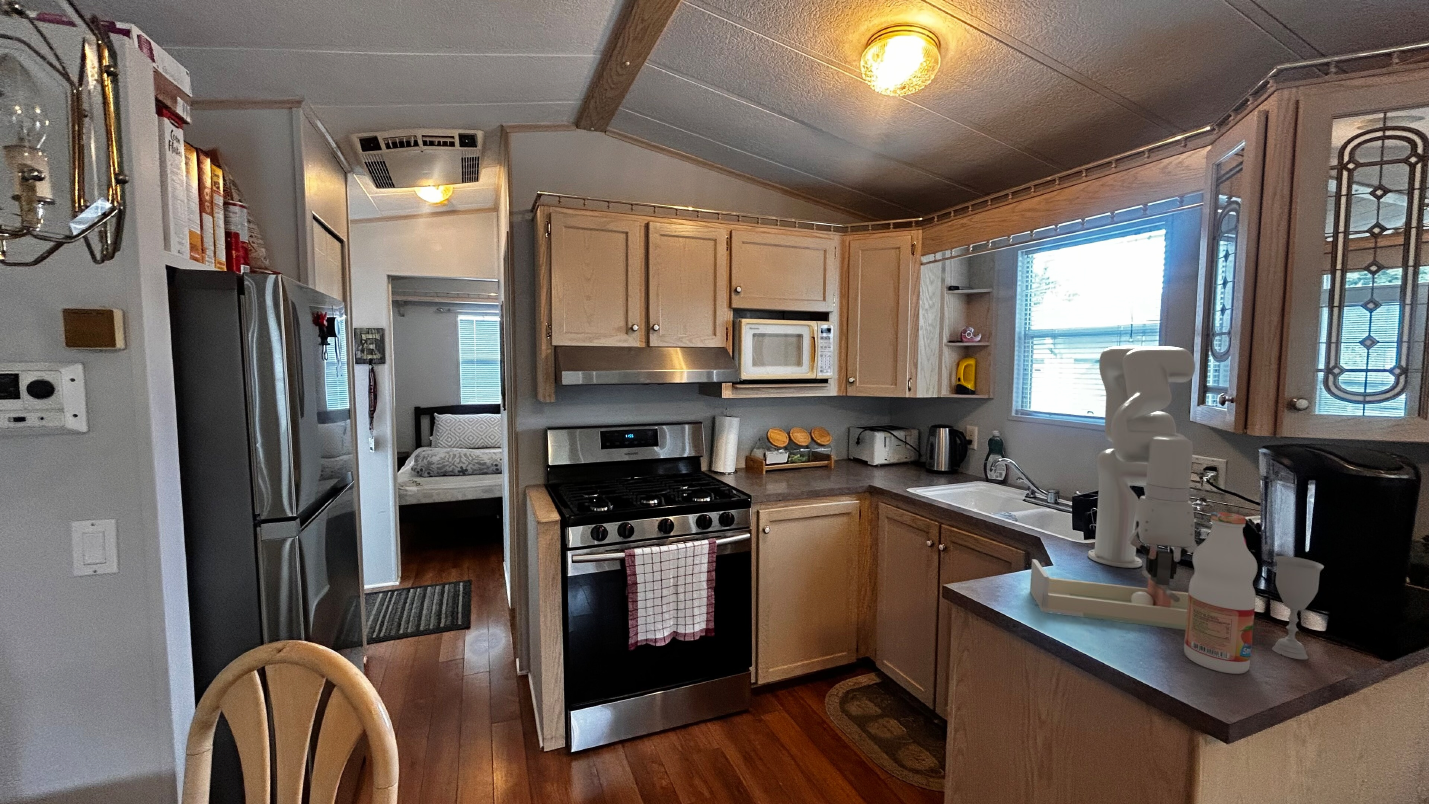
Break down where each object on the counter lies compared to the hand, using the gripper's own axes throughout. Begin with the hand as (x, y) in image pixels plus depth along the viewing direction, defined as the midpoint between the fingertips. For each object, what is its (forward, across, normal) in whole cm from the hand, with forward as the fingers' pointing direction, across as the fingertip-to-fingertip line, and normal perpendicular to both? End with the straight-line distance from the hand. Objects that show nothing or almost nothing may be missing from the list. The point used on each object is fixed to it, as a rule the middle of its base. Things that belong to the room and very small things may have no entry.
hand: (1160, 575), depth 130 cm
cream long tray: (+9, +8, 0) cm, 12 cm away
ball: (+6, +3, 0) cm, 7 cm away
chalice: (+9, -18, +11) cm, 23 cm away
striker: (+8, 0, 0) cm, 8 cm away
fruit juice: (+9, -2, +20) cm, 22 cm away
